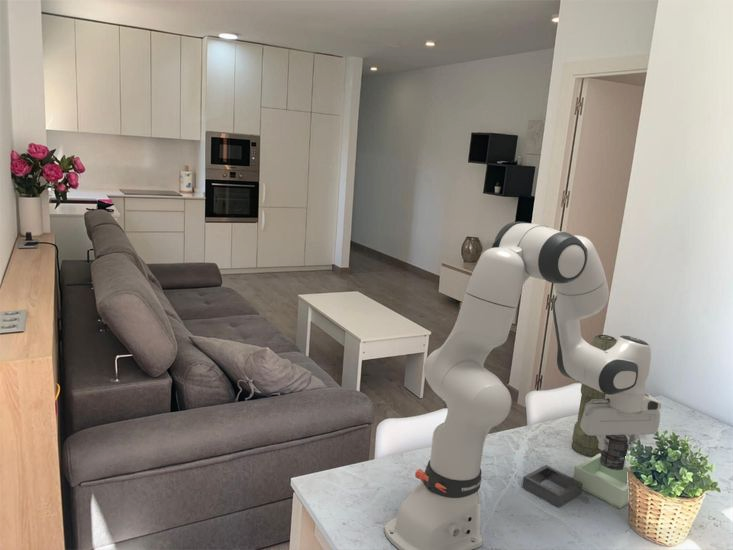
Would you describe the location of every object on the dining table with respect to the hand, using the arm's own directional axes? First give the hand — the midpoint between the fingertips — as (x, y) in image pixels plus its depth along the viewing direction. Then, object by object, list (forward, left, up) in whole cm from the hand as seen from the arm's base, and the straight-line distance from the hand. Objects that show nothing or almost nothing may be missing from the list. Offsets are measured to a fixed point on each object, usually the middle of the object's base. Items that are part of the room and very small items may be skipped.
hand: (615, 448), depth 148 cm
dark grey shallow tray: (-14, +8, -11) cm, 20 cm away
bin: (0, 0, -11) cm, 11 cm away
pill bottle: (0, 0, -5) cm, 5 cm away
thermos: (+15, +14, -12) cm, 23 cm away
